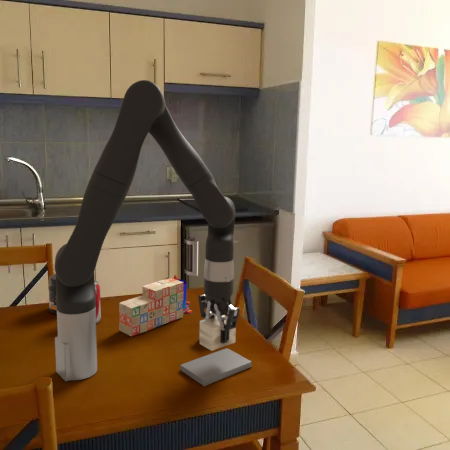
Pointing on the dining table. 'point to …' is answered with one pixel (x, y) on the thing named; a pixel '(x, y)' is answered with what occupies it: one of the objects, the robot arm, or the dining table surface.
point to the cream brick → (214, 334)
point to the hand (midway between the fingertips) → (217, 338)
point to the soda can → (97, 302)
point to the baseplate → (215, 366)
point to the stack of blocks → (152, 307)
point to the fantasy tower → (185, 303)
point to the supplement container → (52, 294)
